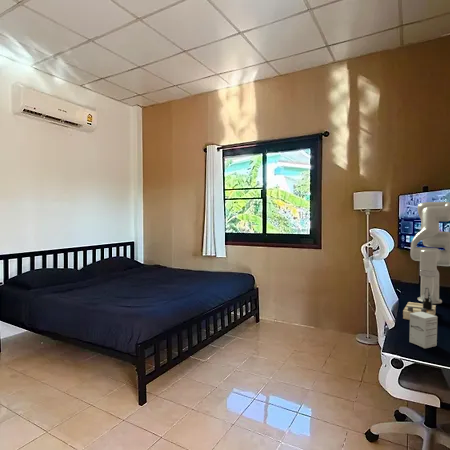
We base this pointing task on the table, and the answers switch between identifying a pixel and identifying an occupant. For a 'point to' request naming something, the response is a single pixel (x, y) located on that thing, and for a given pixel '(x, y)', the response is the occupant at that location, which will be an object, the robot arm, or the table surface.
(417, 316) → the supplement box
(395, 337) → the table surface
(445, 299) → the table surface
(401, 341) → the table surface
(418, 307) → the fader console
